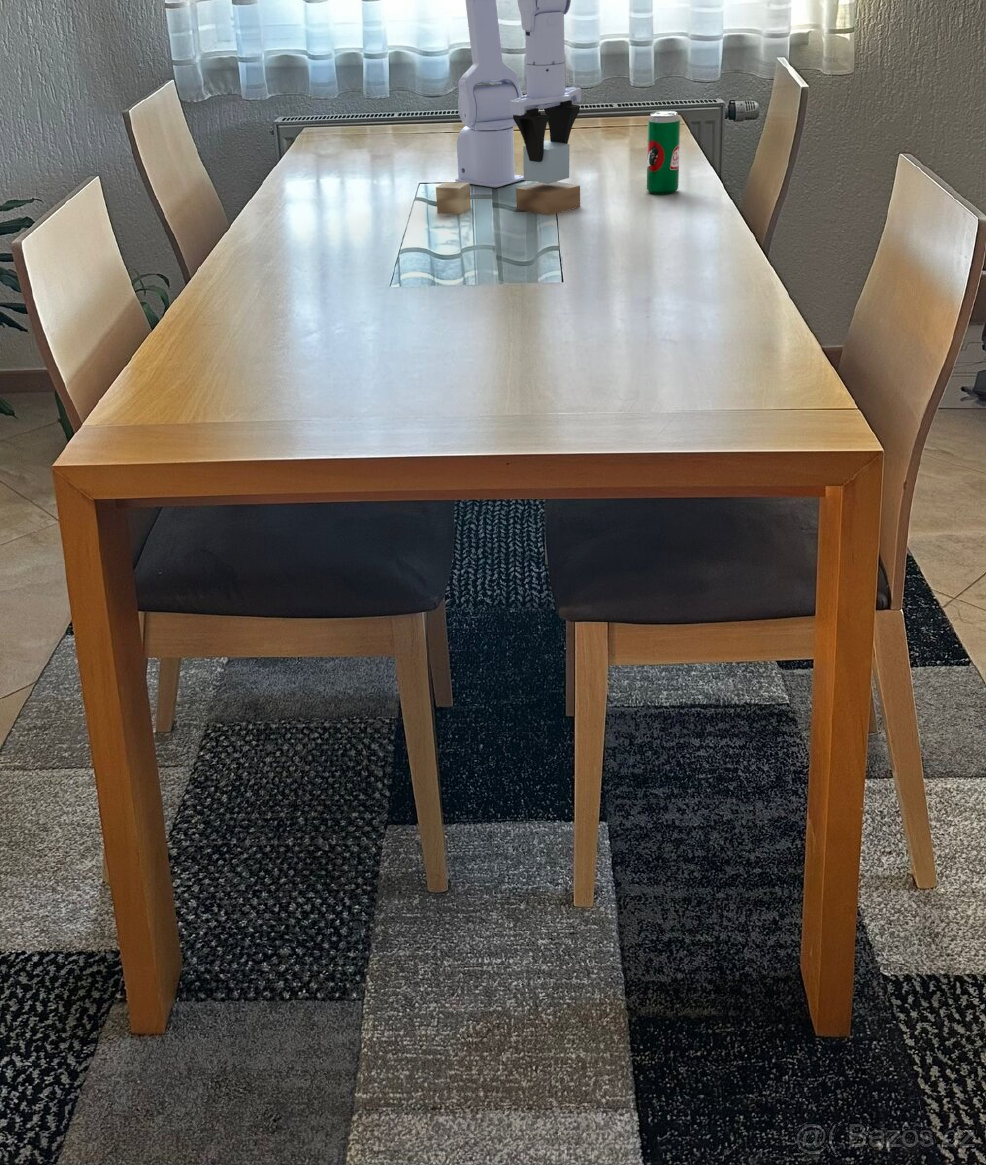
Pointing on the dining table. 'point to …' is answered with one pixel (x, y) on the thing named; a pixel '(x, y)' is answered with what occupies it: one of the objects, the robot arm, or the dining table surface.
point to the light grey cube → (548, 164)
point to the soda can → (663, 152)
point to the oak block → (453, 197)
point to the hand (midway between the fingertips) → (547, 157)
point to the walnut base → (548, 197)
